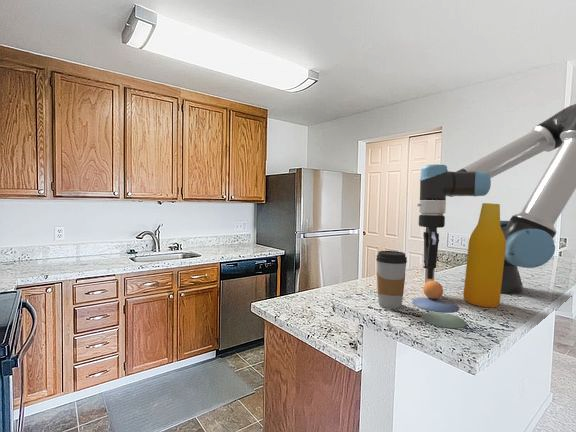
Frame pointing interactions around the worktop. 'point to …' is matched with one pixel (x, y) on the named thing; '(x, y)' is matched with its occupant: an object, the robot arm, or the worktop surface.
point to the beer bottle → (485, 259)
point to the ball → (433, 290)
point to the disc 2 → (443, 320)
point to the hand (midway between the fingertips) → (428, 287)
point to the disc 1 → (435, 305)
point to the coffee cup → (390, 278)
